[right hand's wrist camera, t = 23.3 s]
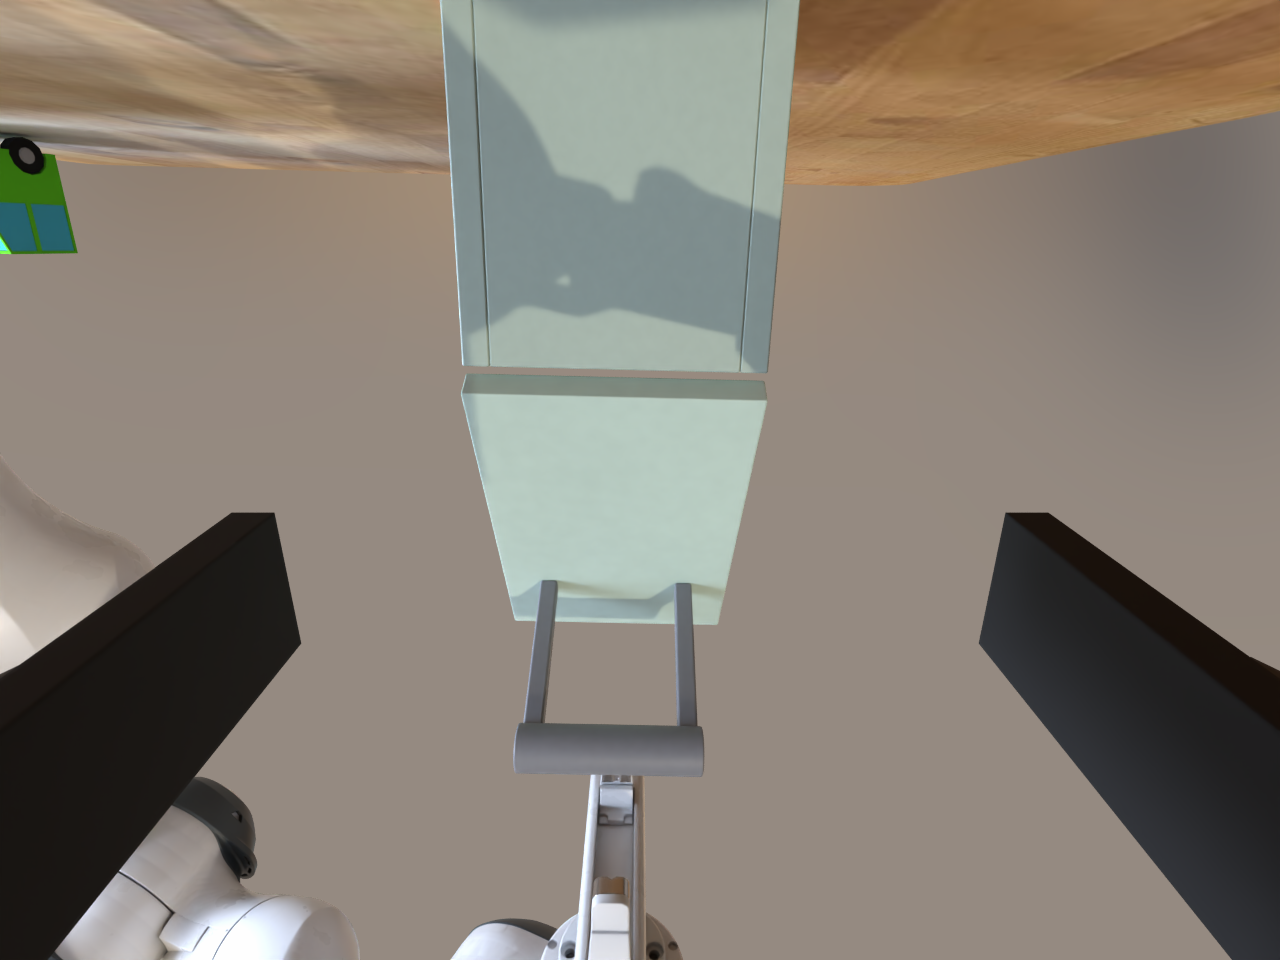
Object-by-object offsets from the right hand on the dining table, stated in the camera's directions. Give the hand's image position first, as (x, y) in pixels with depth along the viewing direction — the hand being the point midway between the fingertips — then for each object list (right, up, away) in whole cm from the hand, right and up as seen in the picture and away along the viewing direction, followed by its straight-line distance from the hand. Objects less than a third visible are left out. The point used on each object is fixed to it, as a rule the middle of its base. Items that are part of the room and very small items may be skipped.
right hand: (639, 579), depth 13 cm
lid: (-1, 0, +14) cm, 14 cm away
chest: (0, +18, +11) cm, 21 cm away
